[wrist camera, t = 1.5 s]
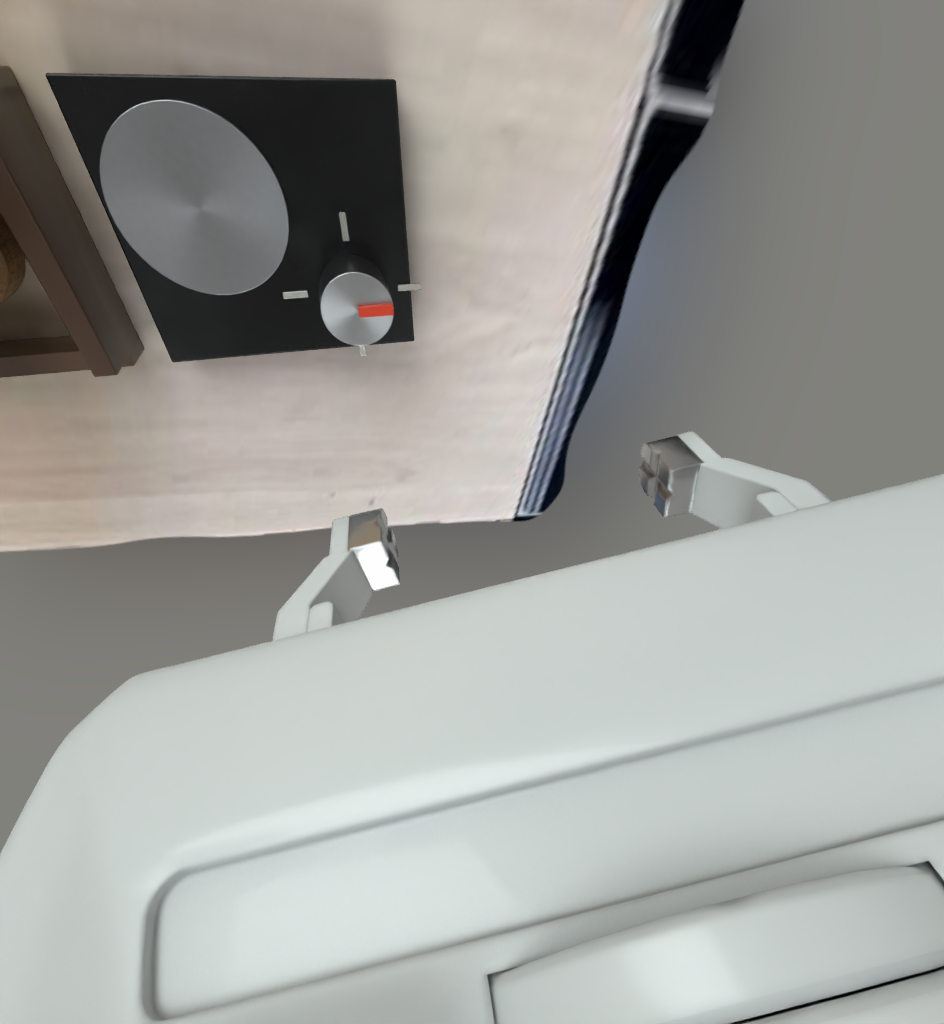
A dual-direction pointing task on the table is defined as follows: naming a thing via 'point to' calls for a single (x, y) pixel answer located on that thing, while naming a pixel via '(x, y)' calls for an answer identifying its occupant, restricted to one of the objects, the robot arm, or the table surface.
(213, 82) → the hob
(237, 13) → the table surface
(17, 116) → the spice rack
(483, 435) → the table surface
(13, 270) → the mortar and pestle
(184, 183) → the burner
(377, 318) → the hob knob
